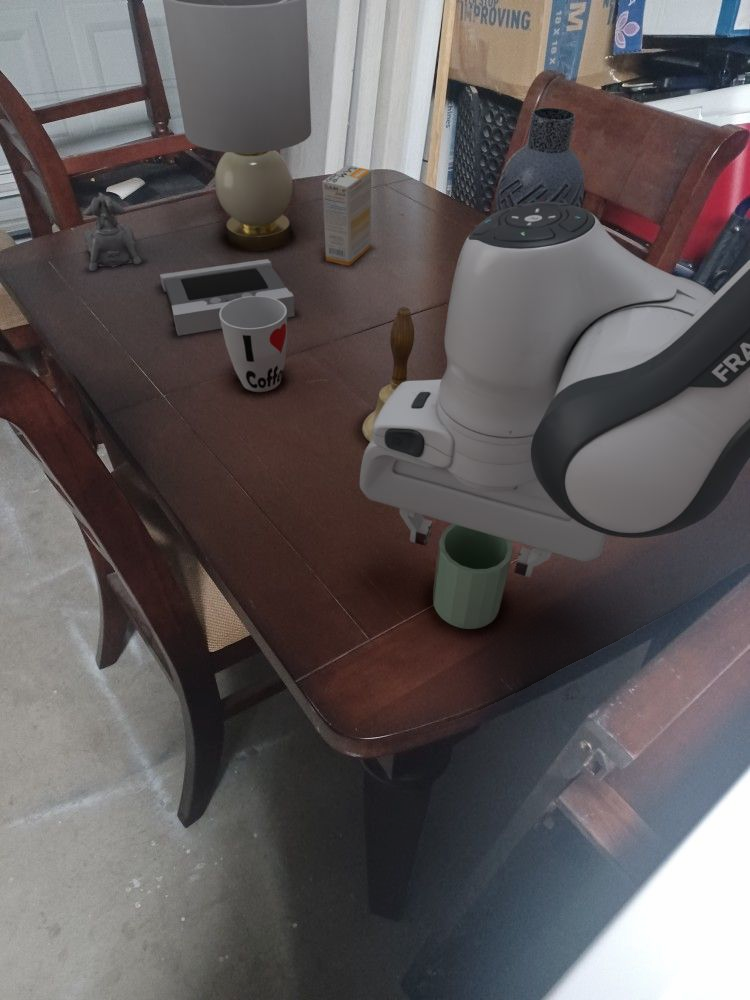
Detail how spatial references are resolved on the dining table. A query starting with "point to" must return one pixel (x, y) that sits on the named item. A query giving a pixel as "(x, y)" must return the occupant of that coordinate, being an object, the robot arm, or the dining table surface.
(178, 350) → the dining table surface
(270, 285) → the alarm clock
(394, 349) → the hand bell
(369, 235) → the supplement box
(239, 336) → the cup
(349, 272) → the dining table surface
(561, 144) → the vase
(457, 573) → the sage cup
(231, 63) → the lamp
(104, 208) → the figurine
